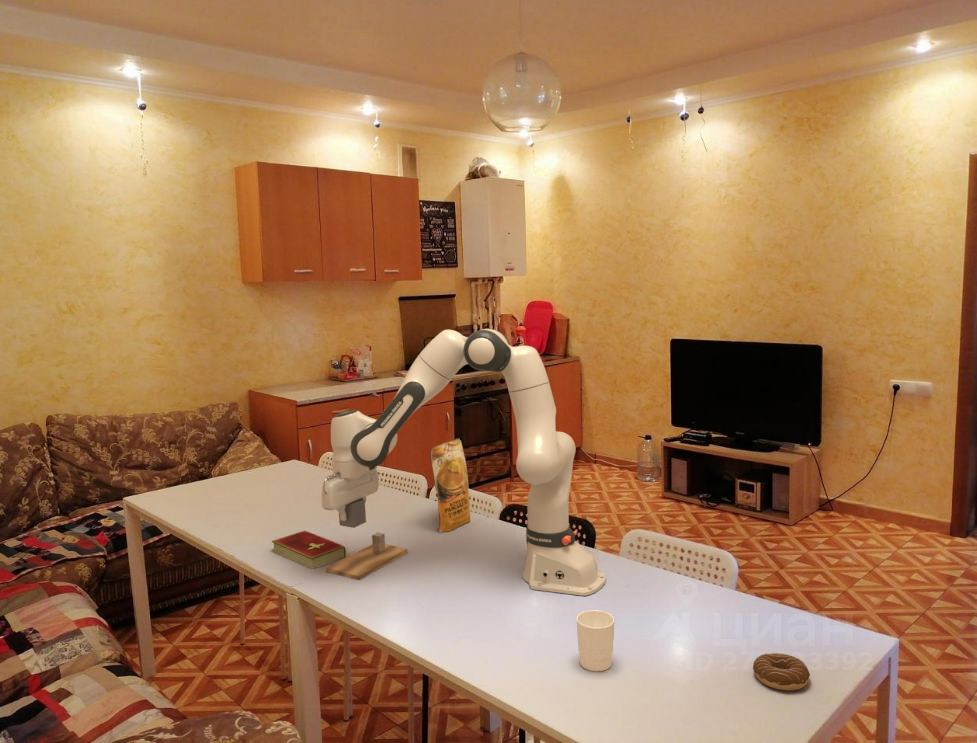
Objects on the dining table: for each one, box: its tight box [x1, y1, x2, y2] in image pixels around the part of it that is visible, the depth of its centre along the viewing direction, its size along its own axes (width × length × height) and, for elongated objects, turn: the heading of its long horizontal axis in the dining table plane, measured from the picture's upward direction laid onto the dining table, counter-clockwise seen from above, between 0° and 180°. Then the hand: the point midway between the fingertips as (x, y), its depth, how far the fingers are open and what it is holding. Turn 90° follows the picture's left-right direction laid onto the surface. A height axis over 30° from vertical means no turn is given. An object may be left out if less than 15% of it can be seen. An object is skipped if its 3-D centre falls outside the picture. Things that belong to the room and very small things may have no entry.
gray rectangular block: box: [338, 499, 367, 529], centre depth 203 cm, size 5×5×7 cm
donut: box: [752, 652, 811, 692], centre depth 145 cm, size 11×11×4 cm
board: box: [326, 543, 409, 581], centre depth 210 cm, size 12×22×1 cm, turn 149°
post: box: [371, 532, 386, 554], centre depth 214 cm, size 3×3×6 cm
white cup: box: [576, 609, 615, 672], centre depth 153 cm, size 8×8×10 cm
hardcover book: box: [271, 530, 347, 570], centre depth 217 cm, size 12×21×4 cm, turn 47°
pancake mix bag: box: [429, 437, 471, 534], centre depth 237 cm, size 7×19×28 cm, turn 144°
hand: (352, 516), depth 203 cm, fingers closed on gray rectangular block, 5 cm apart
